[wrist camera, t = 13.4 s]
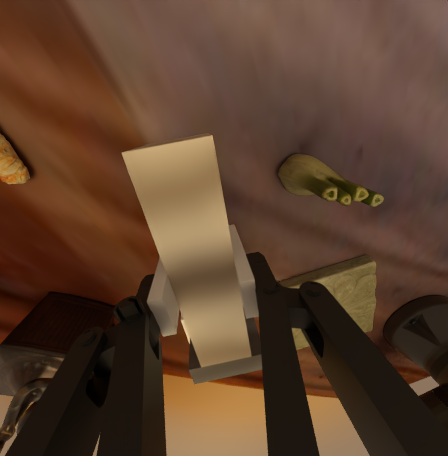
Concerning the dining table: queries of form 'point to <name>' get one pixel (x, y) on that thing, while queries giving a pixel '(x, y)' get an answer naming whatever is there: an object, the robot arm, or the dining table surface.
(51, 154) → the dining table surface
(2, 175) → the croissant
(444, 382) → the robot arm
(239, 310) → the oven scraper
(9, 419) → the dark brown crank device
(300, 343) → the decorative tile
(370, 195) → the fennel bulb
